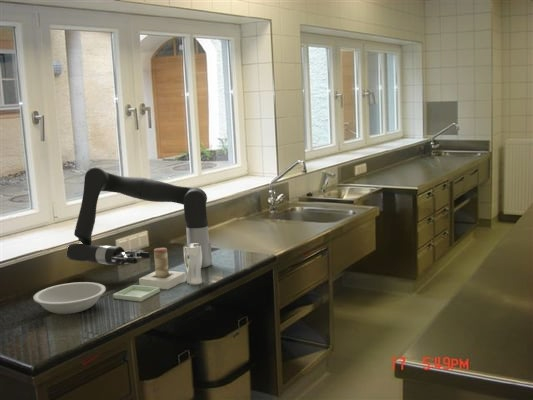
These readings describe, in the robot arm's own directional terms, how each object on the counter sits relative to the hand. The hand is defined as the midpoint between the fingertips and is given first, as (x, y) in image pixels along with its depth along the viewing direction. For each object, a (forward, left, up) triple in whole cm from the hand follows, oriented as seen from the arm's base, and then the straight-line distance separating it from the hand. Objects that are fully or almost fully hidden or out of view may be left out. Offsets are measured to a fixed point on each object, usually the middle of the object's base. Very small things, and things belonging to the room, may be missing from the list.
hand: (143, 258), depth 246 cm
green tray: (+10, +14, -10) cm, 20 cm away
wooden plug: (-4, +7, -10) cm, 13 cm away
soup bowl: (+34, +13, -10) cm, 38 cm away
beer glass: (-14, +14, -10) cm, 23 cm away
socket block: (-4, +7, -10) cm, 13 cm away
